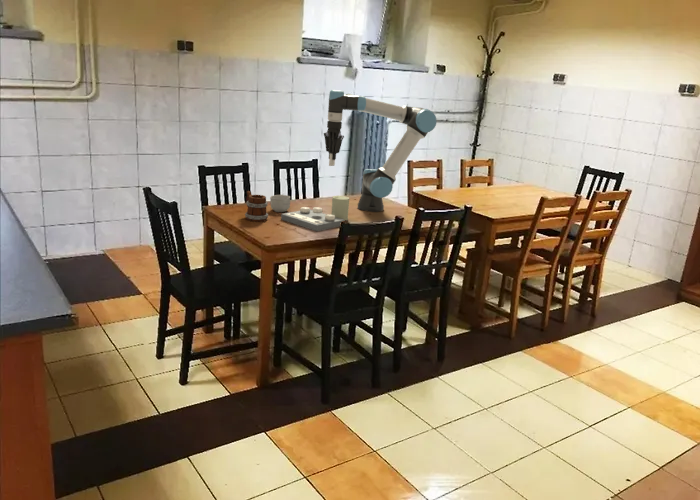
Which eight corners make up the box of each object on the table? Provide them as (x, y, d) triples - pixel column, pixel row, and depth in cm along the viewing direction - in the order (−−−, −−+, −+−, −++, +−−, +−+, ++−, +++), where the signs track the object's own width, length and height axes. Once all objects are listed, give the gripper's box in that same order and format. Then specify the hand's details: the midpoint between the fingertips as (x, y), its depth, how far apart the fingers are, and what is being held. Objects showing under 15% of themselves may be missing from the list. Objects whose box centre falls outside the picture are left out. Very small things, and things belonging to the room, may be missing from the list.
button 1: (305, 210, 314) (305, 206, 314) (311, 212, 311) (312, 208, 311) (298, 211, 311) (298, 207, 310) (304, 213, 308) (305, 209, 307)
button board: (308, 214, 320) (309, 208, 319) (344, 225, 303) (344, 219, 302) (281, 219, 305) (281, 213, 304) (316, 231, 289) (317, 224, 288)
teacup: (286, 214, 316) (286, 199, 314) (266, 211, 318) (267, 197, 316) (293, 208, 329) (294, 194, 327) (275, 206, 331) (275, 192, 329)
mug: (253, 223, 294) (251, 192, 291) (238, 221, 304) (236, 191, 302) (273, 220, 301) (271, 190, 299) (258, 218, 312) (256, 190, 309)
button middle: (317, 210, 308) (317, 206, 308) (324, 212, 305) (324, 208, 305) (310, 211, 305) (310, 208, 304) (317, 213, 302) (317, 210, 301)
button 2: (329, 217, 303) (329, 213, 303) (336, 219, 300) (337, 216, 300) (322, 219, 300) (323, 215, 299) (329, 221, 297) (330, 217, 296)
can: (328, 216, 318) (329, 194, 315) (344, 216, 322) (345, 194, 318) (334, 221, 310) (336, 198, 307) (350, 220, 314) (352, 198, 310)
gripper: (320, 119, 312) (318, 164, 319) (338, 122, 304) (335, 168, 311) (330, 119, 317) (327, 163, 324) (348, 122, 309) (345, 167, 316)
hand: (331, 165), depth 317 cm, fingers closed
